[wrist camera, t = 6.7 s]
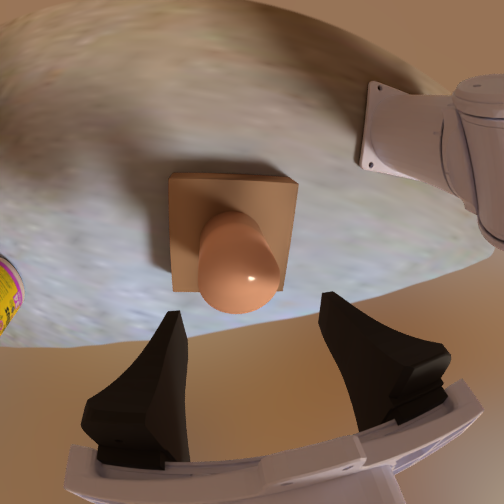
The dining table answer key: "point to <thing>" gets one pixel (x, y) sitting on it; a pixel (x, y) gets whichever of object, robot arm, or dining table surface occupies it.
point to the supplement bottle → (9, 293)
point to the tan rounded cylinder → (236, 264)
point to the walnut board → (224, 200)
